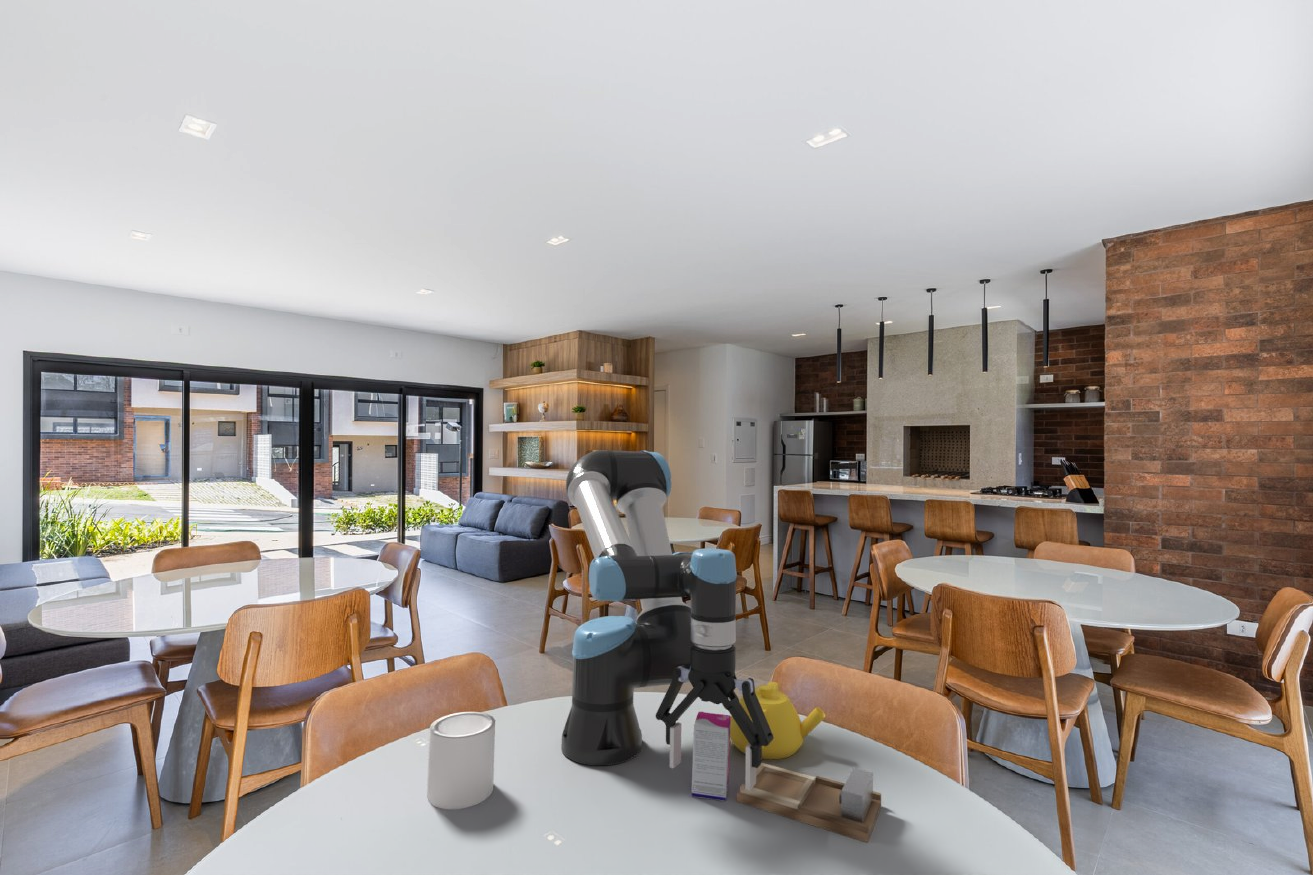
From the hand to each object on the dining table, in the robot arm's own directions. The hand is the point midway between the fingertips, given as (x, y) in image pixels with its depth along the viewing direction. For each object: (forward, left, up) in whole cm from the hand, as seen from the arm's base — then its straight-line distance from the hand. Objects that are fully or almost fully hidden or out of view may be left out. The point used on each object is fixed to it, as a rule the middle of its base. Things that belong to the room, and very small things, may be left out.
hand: (711, 775), depth 100 cm
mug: (-35, -21, -3) cm, 41 cm away
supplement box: (0, 0, -3) cm, 3 cm away
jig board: (+15, +5, -3) cm, 16 cm away
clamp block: (+22, +5, -1) cm, 22 cm away
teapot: (+4, +21, -3) cm, 22 cm away
